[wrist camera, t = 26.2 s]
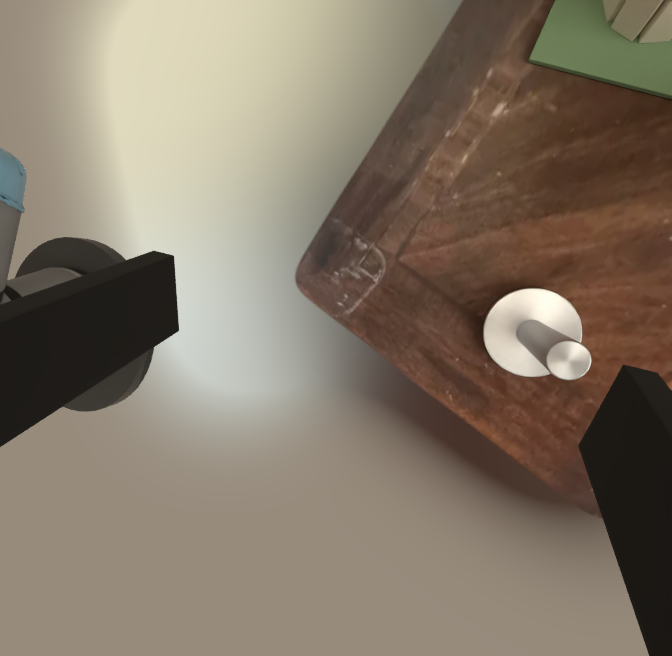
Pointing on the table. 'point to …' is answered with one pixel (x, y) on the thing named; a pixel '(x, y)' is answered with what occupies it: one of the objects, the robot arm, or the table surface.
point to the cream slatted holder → (641, 19)
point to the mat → (601, 49)
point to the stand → (536, 335)
